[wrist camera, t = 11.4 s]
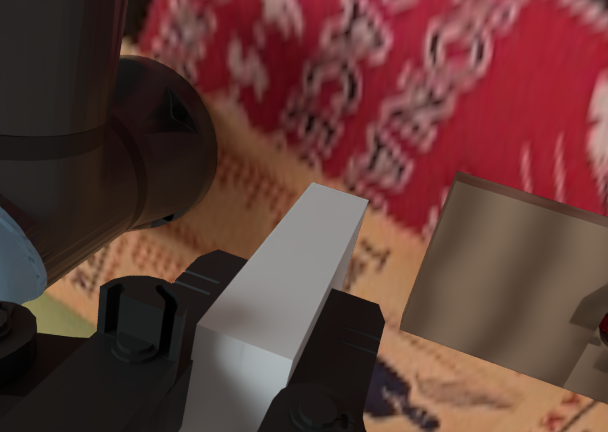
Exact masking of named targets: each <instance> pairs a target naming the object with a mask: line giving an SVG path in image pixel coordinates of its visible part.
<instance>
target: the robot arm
mask: <svg viewBox="0 0 608 432" xmlns="http://www.w3.org/2000/svg"><path fill="white" fill-rule="evenodd" d="M127 3H128V0H0V432H366V430H365V426H364V421H363V410H364V405H365V401H366V397H367V393H368V389H369V385H370V381H371V377H372V373H373V369H374V365H375V361H376V357H377V353H378V349H379V345H380V340H381V337H382V333H383V329H384V325H385V320H384V318H383V315H382V312H381V309H380V307H379V304H376V303H373V302H370V301H367V300H365V299H362V298H359V297H356V296H353V295H351V294H348V293H345V292H342V291H341V289H342V285H343V282H344V279H345V276H346V273H347V269H348V266H349V263H350V260H351V256H352V253H353V250H354V247H355V243H356V240H357V237H358V234H359V230H360V227H361V224H362V221H363V217H364V214H365V211H366V208H367V204H368V201H369V200H366V199H363V198H360V197H357V196H354V195H351V194H348V193H345V192H342V191H339V190H335V189H332V188H329V187H326V186H323V185H320V184H317V183H314V182H312V183H311V184H310V186H309V187H308V188H307V189H306V191H305V192H304V193H303V194H302V195H301V197H300V198H299V199H298V200H297V202H296V203H295V204H294V205H293V206H292V208H291V209H290V210H289V211H288V213H287V214H286V215H285V216H284V218H283V219H282V220H281V221H280V222H279V224H278V225H277V226H276V227H275V229H274V230H273V231H272V232H271V234H270V235H269V236H268V237H267V238H266V240H265V241H264V242H263V243H262V245H261V246H260V247H259V248H258V249H257V251H256V252H255V253H254V254H253V256H252V257H251V258H250V259H249V260H246V259H244V258H241V257H238V256H235V255H232V254H229V253H227V252H224V251H221V250H216V251H213V252H211V253H208V254H205V255H203V256H200V257H198V258H197V259H196V260H195V261H194V262H193V263H192V264H191V265H190V266H189V267H188V268H187V269H186V271H185V272H183V273H182V274H181V275H180V276H179V277H178V278H177V279H176V280H175V282H174V283H172V284H171V283H169V282H167V281H166V280H163V279H159V278H155V277H151V276H125V277H121V278H116V279H113V280H111V281H109V282H107V283H105V284H103V285H102V286H100V294H99V309H98V323H97V331H96V332H95V333H94V334H93V335H92V336H91V337H90V338H79V337H67V336H60V335H52V334H44V333H37V323H36V317H35V316H34V315H33V314H32V313H31V311H30V310H29V309H28V308H26V307H23V306H21V304H23V303H25V302H27V301H31V300H34V299H36V298H38V297H39V296H41V295H42V294H43V293H44V291H45V290H46V289H47V288H48V287H50V286H51V285H52V284H54V283H55V282H56V281H58V280H59V279H61V278H62V277H63V276H65V275H66V274H67V273H69V272H70V271H72V270H73V269H74V268H76V267H77V266H78V265H80V264H81V263H83V262H84V261H85V260H87V259H88V258H89V257H91V256H92V255H94V254H95V253H96V252H98V251H99V250H100V249H102V248H103V247H105V246H106V245H107V244H109V243H110V242H112V241H113V240H115V239H116V238H117V237H119V236H120V235H121V234H123V233H124V232H129V231H135V230H141V229H147V228H154V227H159V226H163V225H166V224H168V223H171V222H173V221H175V220H177V219H179V218H180V217H182V216H183V215H184V214H186V213H187V212H188V211H190V210H191V209H192V208H193V207H195V206H196V205H197V204H198V203H199V202H200V201H201V200H202V199H203V197H204V196H205V194H206V193H207V191H208V190H209V188H210V186H211V184H212V181H213V178H214V175H215V171H216V165H217V142H216V136H215V132H214V128H213V124H212V122H211V119H210V116H209V114H208V112H207V110H206V108H205V106H204V104H203V103H202V101H201V99H200V98H199V96H198V95H197V94H196V92H195V91H194V90H193V88H192V87H191V86H190V85H189V84H188V83H187V82H186V81H185V80H184V79H183V78H182V77H181V76H179V75H178V74H177V73H176V72H174V71H173V70H172V69H170V68H168V67H167V66H165V65H163V64H161V63H159V62H157V61H155V60H152V59H149V58H145V57H141V56H135V55H120V51H121V44H122V37H123V30H124V23H125V17H126V10H127Z"/></svg>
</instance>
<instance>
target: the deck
mask: <svg viewBox="0 0 608 432" xmlns="http://www.w3.org/2000/svg"><path fill="white" fill-rule="evenodd" d="M607 312H608V217H606V216H603V215H599V214H596V213H593V212H590V211H586V210H583V209H580V208H576V207H573V206H570V205H567V204H563V203H560V202H557V201H554V200H550V199H547V198H544V197H541V196H537V195H534V194H531V193H528V192H524V191H521V190H518V189H514V188H511V187H508V186H505V185H501V184H498V183H495V182H492V181H488V180H485V179H482V178H479V177H475V176H472V175H469V174H466V173H462V172H459V171H456V174H455V177H454V179H453V182H452V185H451V187H450V190H449V193H448V195H447V198H446V201H445V203H444V206H443V208H442V211H441V214H440V216H439V219H438V222H437V224H436V227H435V230H434V232H433V235H432V238H431V240H430V243H429V246H428V248H427V251H426V253H425V256H424V259H423V261H422V264H421V267H420V269H419V272H418V275H417V277H416V280H415V283H414V285H413V288H412V291H411V293H410V296H409V298H408V301H407V304H406V306H405V309H404V312H403V315H402V320H401V325H400V330H402V331H405V332H408V333H411V334H413V335H416V336H419V337H422V338H424V339H427V340H430V341H433V342H436V343H438V344H441V345H444V346H447V347H450V348H452V349H455V350H458V351H461V352H464V353H466V354H469V355H472V356H475V357H477V358H480V359H483V360H486V361H489V362H491V363H494V364H497V365H500V366H503V367H505V368H508V369H511V370H514V371H516V372H519V373H522V374H525V375H528V376H530V377H533V378H536V379H539V380H542V381H544V382H547V383H550V384H553V385H556V386H558V387H561V388H564V389H567V390H569V391H572V392H575V393H578V394H581V395H583V396H586V397H589V398H592V399H595V400H597V401H600V402H603V403H606V404H608V334H606V333H604V332H603V331H602V330H601V329H600V328H599V325H600V323H601V321H602V319H603V318H604V316H605V314H606V313H607Z"/></svg>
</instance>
